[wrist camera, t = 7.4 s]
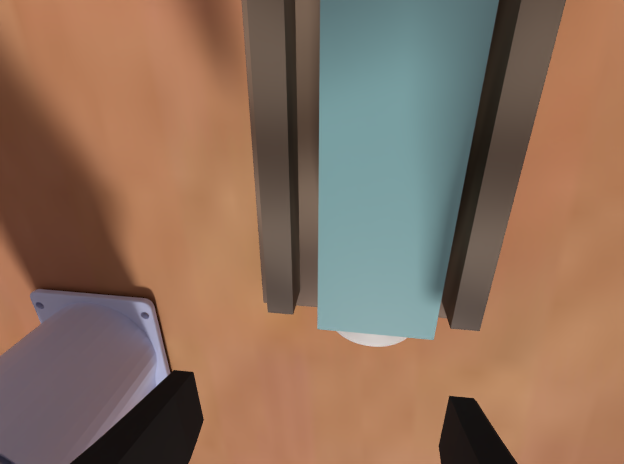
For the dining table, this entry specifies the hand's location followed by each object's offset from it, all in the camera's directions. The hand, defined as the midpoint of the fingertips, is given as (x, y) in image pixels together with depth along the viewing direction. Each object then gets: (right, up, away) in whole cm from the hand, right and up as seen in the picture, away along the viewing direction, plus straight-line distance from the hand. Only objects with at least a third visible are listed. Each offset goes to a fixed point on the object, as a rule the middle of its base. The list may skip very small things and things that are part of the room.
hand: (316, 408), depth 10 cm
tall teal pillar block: (+3, +9, +4) cm, 10 cm away
